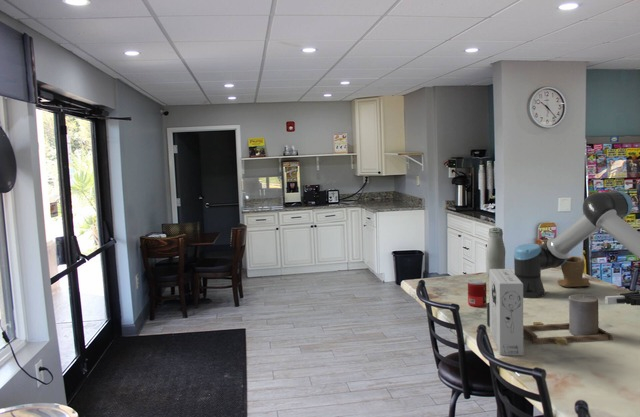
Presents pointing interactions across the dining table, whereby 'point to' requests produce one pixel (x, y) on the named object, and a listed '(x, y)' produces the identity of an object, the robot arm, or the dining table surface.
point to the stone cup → (573, 273)
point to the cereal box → (506, 311)
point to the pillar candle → (583, 315)
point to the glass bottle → (495, 250)
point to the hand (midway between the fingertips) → (606, 300)
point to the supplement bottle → (488, 313)
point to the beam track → (560, 340)
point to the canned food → (477, 293)
